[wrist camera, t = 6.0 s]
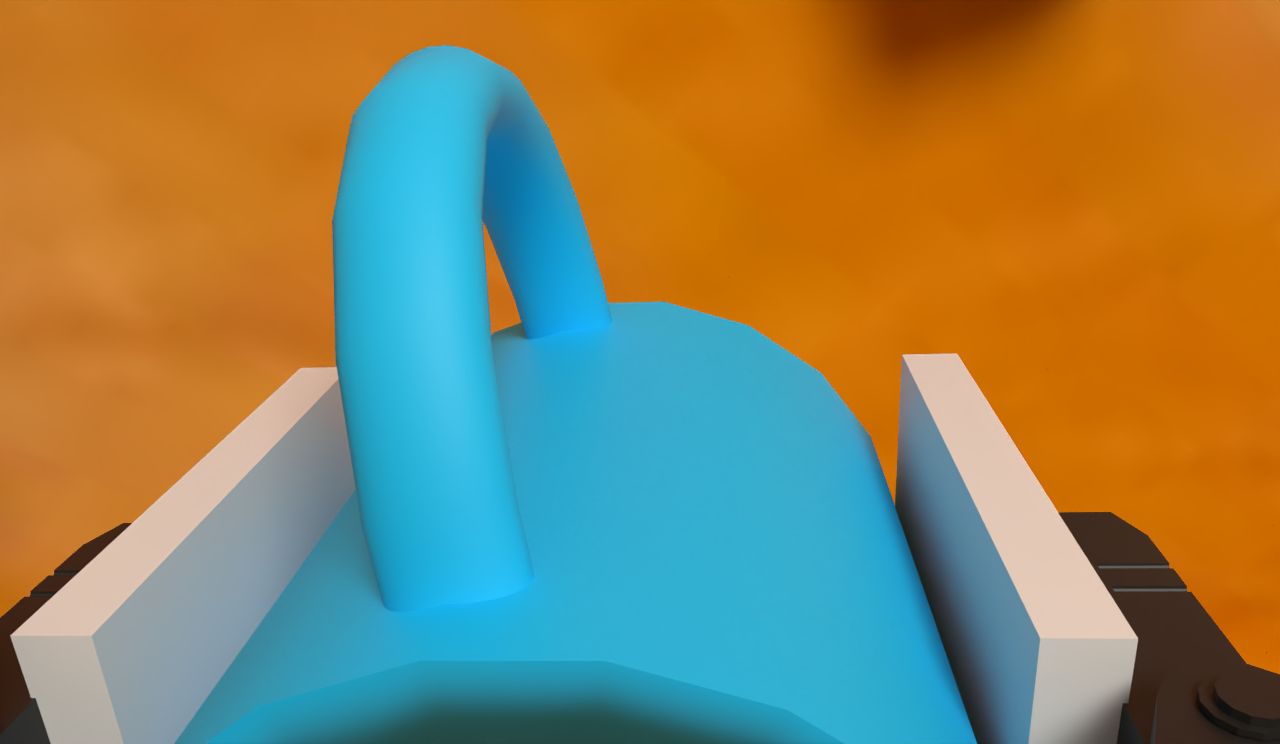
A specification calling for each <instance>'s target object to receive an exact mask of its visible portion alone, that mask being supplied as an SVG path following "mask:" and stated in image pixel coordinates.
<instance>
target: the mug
mask: <svg viewBox="0 0 1280 744" xmlns="http://www.w3.org/2000/svg"><path fill="white" fill-rule="evenodd" d="M482 220H483V222H484V224H485V226H486V228H487V230H488V233H489V235H490V238H491V240H492V243H493V245H494V248H495V250H496V253H497V255H498V258H499V261H500V263H501V266H502V268H503V271H504V273H505V276H506V278H507V281H508V284H509V286H510V289H511V291H512V294H513V296H514V299H515V302H516V305H517V309H518V312H519V315H520V319H521V322H522V323H520V324H517V325H514V326H511V327H508V328H505V329H503V330H500V331H497V332H495V333H494V334H492V335H491V327H490V314H489V301H488V288H487V275H486V262H485V249H484V236H483V222H482ZM332 227H333V268H334V309H335V350H336V366H337V372H338V379H339V385H340V391H341V398H342V404H343V410H344V417H345V423H346V430H347V436H348V442H349V449H350V455H351V461H352V468H353V474H354V481H355V487H356V490H355V491H354V492H353V494H352V495H351V497H350V498H349V499H348V501H347V502H346V504H345V505H344V506H343V508H342V509H341V511H340V512H339V513H338V515H337V516H336V518H335V519H334V520H333V522H332V523H331V525H330V526H329V527H328V529H327V530H326V532H325V533H324V534H323V536H322V537H321V539H320V540H319V541H318V543H317V544H316V546H315V547H314V548H313V550H312V551H311V553H310V554H309V555H308V557H307V558H306V560H305V561H304V562H303V564H302V565H301V567H300V568H299V569H298V571H297V572H296V574H295V575H294V576H293V578H292V579H291V581H290V582H289V584H288V585H287V586H286V588H285V589H284V591H283V592H282V593H281V595H280V596H279V598H278V599H277V600H276V602H275V603H274V605H273V606H272V607H271V609H270V610H269V612H268V613H267V614H266V616H265V617H264V619H263V620H262V621H261V623H260V624H259V626H258V627H257V628H256V630H255V631H254V633H253V634H252V635H251V637H250V638H249V640H248V641H247V642H246V644H245V645H244V647H243V648H242V649H241V651H240V652H239V654H238V655H237V656H236V658H235V659H234V661H233V662H232V663H231V665H230V666H229V668H228V669H227V670H226V672H225V673H224V675H223V676H222V677H221V679H220V680H219V682H218V683H217V684H216V686H215V687H214V689H213V690H212V692H211V693H210V694H209V696H208V697H207V699H206V700H205V701H204V703H203V704H202V706H201V707H200V708H199V710H198V711H197V713H196V714H195V715H194V717H193V718H192V720H191V721H190V722H189V724H188V725H187V727H186V728H185V729H184V731H183V732H182V734H181V735H180V736H179V738H178V739H177V741H176V742H175V743H174V744H977V742H976V739H975V736H974V733H973V730H972V727H971V724H970V721H969V719H968V716H967V713H966V710H965V707H964V704H963V701H962V698H961V696H960V693H959V690H958V687H957V684H956V681H955V678H954V675H953V672H952V670H951V667H950V664H949V661H948V658H947V655H946V652H945V649H944V646H943V644H942V641H941V638H940V635H939V632H938V629H937V626H936V623H935V621H934V618H933V615H932V612H931V609H930V606H929V603H928V600H927V597H926V595H925V592H924V589H923V586H922V583H921V580H920V577H919V574H918V571H917V569H916V566H915V563H914V560H913V557H912V554H911V551H910V548H909V546H908V543H907V540H906V537H905V534H904V531H903V528H902V525H901V522H900V520H899V517H898V514H897V511H896V508H895V505H894V502H893V499H892V497H891V494H890V491H889V488H888V485H887V482H886V479H885V476H884V473H883V471H882V468H881V465H880V462H879V459H878V456H877V453H876V450H875V447H874V445H873V442H872V439H871V436H870V435H869V434H868V432H867V431H866V430H865V429H864V427H863V426H862V425H861V424H860V422H859V421H858V420H857V418H856V417H855V416H854V415H853V413H852V412H851V411H850V409H849V408H848V407H847V406H846V404H845V403H844V402H843V401H842V399H841V398H840V397H839V395H838V394H837V393H836V392H835V390H834V389H833V388H832V387H831V385H830V384H829V383H828V381H827V380H826V379H825V378H824V376H823V375H822V374H821V373H820V372H819V371H817V370H816V369H814V368H813V367H811V366H810V365H808V364H807V363H805V362H803V361H802V360H800V359H799V358H797V357H796V356H794V355H793V354H791V353H790V352H788V351H787V350H785V349H784V348H782V347H781V346H779V345H778V344H776V343H775V342H773V341H771V340H770V339H768V338H767V337H765V336H764V335H762V334H761V333H759V332H758V331H756V330H755V329H753V328H752V327H750V326H748V325H745V324H741V323H737V322H734V321H730V320H727V319H723V318H720V317H716V316H713V315H709V314H705V313H702V312H698V311H695V310H691V309H688V308H684V307H681V306H677V305H673V304H670V303H666V302H636V303H608V301H607V297H606V293H605V289H604V285H603V281H602V278H601V274H600V271H599V268H598V265H597V261H596V258H595V255H594V252H593V249H592V245H591V242H590V239H589V236H588V232H587V229H586V226H585V223H584V219H583V216H582V213H581V210H580V207H579V203H578V200H577V198H576V195H575V193H574V190H573V188H572V185H571V183H570V180H569V178H568V175H567V173H566V170H565V168H564V165H563V163H562V160H561V158H560V155H559V153H558V150H557V148H556V145H555V143H554V140H553V138H552V135H551V133H550V130H549V128H548V126H547V124H546V123H545V121H544V119H543V118H542V116H541V114H540V113H539V111H538V109H537V108H536V106H535V104H534V103H533V101H532V99H531V98H530V96H529V94H528V92H527V91H526V89H525V87H524V86H523V84H522V82H521V81H520V80H519V79H518V78H517V77H516V76H515V75H514V74H513V73H512V72H511V71H509V70H508V69H506V68H504V67H502V66H500V65H498V64H496V63H494V62H492V61H490V60H488V59H486V58H485V57H483V56H481V55H478V54H476V53H474V52H472V51H470V50H468V49H466V48H460V47H454V46H449V45H445V46H434V47H427V48H424V49H421V50H418V51H416V52H413V53H410V54H408V55H407V56H406V57H404V58H403V59H402V60H400V61H399V62H397V63H396V64H395V65H394V66H393V67H392V68H391V69H390V70H389V71H388V73H387V74H386V75H385V76H384V77H383V78H382V80H381V81H380V82H379V83H378V84H377V85H376V87H375V88H374V89H373V90H372V91H371V92H370V93H369V95H368V96H367V97H366V98H365V99H364V100H363V102H362V103H361V105H360V106H359V107H358V109H357V110H356V111H355V113H354V114H353V117H352V121H351V125H350V130H349V135H348V140H347V145H346V151H345V156H344V161H343V167H342V172H341V178H340V183H339V188H338V194H337V199H336V204H335V210H334V215H333V221H332Z"/></svg>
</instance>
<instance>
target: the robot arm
mask: <svg viewBox="0 0 1280 744" xmlns="http://www.w3.org/2000/svg"><path fill="white" fill-rule="evenodd" d="M355 490H356V487H355V481H354V474H353V468H352V461H351V455H350V449H349V442H348V436H347V430H346V423H345V417H344V410H343V404H342V398H341V391H340V385H339V379H338V372H337V367H325V368H300V369H299V370H298V371H297V372H296V373H295V374H294V375H293V376H292V377H290V378H289V379H288V380H287V381H286V382H285V383H284V384H283V385H282V386H281V387H280V388H279V389H277V390H276V391H275V392H274V393H273V394H272V395H271V396H270V397H269V398H268V399H267V400H265V401H264V402H263V403H262V404H261V405H260V406H259V407H258V408H257V409H256V410H255V411H254V412H252V413H251V414H250V415H249V416H248V417H247V418H246V419H245V420H244V421H243V422H242V423H241V424H239V425H238V426H237V427H236V428H235V429H234V430H233V431H232V432H231V433H230V434H229V435H228V436H226V437H225V438H224V439H223V440H222V441H221V442H220V443H219V444H218V445H217V446H216V447H214V448H213V449H212V450H211V451H210V452H209V453H208V454H207V455H206V456H205V457H204V458H203V459H201V460H200V461H199V462H198V463H197V464H196V465H195V466H194V467H193V468H192V469H191V470H190V471H188V472H187V473H186V474H185V475H184V476H183V477H182V478H181V479H180V480H179V481H178V482H177V483H175V484H174V485H173V486H172V487H171V488H170V489H169V490H168V491H167V492H166V493H165V494H163V495H162V496H161V497H160V498H159V499H158V500H157V501H156V502H155V503H154V504H153V505H152V506H150V507H149V508H148V509H147V510H146V511H145V512H144V513H143V514H142V515H141V516H140V517H139V518H137V519H136V520H135V521H134V522H133V523H123V524H121V525H119V526H117V527H116V528H114V529H112V530H110V531H108V532H106V533H104V534H103V535H101V536H99V537H97V538H95V539H93V540H92V541H90V542H88V543H86V544H84V545H83V546H81V547H80V548H79V549H78V550H77V551H76V552H75V553H73V554H72V555H71V556H70V557H69V558H68V559H67V560H66V561H64V562H63V563H62V564H61V565H60V566H59V567H58V568H57V569H55V570H54V576H47V577H46V578H45V579H44V580H43V581H42V582H41V583H40V584H38V585H37V586H36V587H35V588H34V589H33V590H32V591H31V595H30V597H24V598H23V599H21V600H20V601H19V602H18V603H17V604H16V605H15V606H14V607H12V608H11V609H10V610H9V611H8V612H7V613H6V614H5V615H3V616H2V617H1V618H0V744H174V743H175V742H176V741H177V739H178V738H179V736H180V735H181V734H182V732H183V731H184V729H185V728H186V727H187V725H188V724H189V722H190V721H191V720H192V718H193V717H194V715H195V714H196V713H197V711H198V710H199V708H200V707H201V706H202V704H203V703H204V701H205V700H206V699H207V697H208V696H209V694H210V693H211V692H212V690H213V689H214V687H215V686H216V684H217V683H218V682H219V680H220V679H221V677H222V676H223V675H224V673H225V672H226V670H227V669H228V668H229V666H230V665H231V663H232V662H233V661H234V659H235V658H236V656H237V655H238V654H239V652H240V651H241V649H242V648H243V647H244V645H245V644H246V642H247V641H248V640H249V638H250V637H251V635H252V634H253V633H254V631H255V630H256V628H257V627H258V626H259V624H260V623H261V621H262V620H263V619H264V617H265V616H266V614H267V613H268V612H269V610H270V609H271V607H272V606H273V605H274V603H275V602H276V600H277V599H278V598H279V596H280V595H281V593H282V592H283V591H284V589H285V588H286V586H287V585H288V584H289V582H290V581H291V579H292V578H293V576H294V575H295V574H296V572H297V571H298V569H299V568H300V567H301V565H302V564H303V562H304V561H305V560H306V558H307V557H308V555H309V554H310V553H311V551H312V550H313V548H314V547H315V546H316V544H317V543H318V541H319V540H320V539H321V537H322V536H323V534H324V533H325V532H326V530H327V529H328V527H329V526H330V525H331V523H332V522H333V520H334V519H335V518H336V516H337V515H338V513H339V512H340V511H341V509H342V508H343V506H344V505H345V504H346V502H347V501H348V499H349V498H350V497H351V495H352V494H353V492H354V491H355ZM895 508H896V511H897V514H898V517H899V520H900V522H901V525H902V528H903V531H904V534H905V537H906V540H907V543H908V546H909V548H910V551H911V554H912V557H913V560H914V563H915V566H916V569H917V571H918V574H919V577H920V580H921V583H922V586H923V589H924V592H925V595H926V597H927V600H928V603H929V606H930V609H931V612H932V615H933V618H934V621H935V623H936V626H937V629H938V632H939V635H940V638H941V641H942V644H943V646H944V649H945V652H946V655H947V658H948V661H949V664H950V667H951V670H952V672H953V675H954V678H955V681H956V684H957V687H958V690H959V693H960V696H961V698H962V701H963V704H964V707H965V710H966V713H967V716H968V719H969V721H970V724H971V727H972V730H973V733H974V736H975V739H976V742H977V744H1280V674H1276V673H1273V672H1270V671H1267V670H1264V669H1261V668H1258V667H1255V666H1252V665H1249V664H1246V662H1245V661H1244V660H1243V659H1242V657H1241V656H1240V655H1239V653H1238V652H1237V651H1236V649H1235V648H1234V647H1233V646H1232V644H1231V643H1230V642H1229V640H1228V639H1227V638H1226V636H1225V635H1224V634H1223V633H1222V631H1221V630H1220V629H1219V627H1218V626H1217V625H1216V624H1215V622H1214V621H1213V620H1212V618H1211V617H1210V616H1209V614H1208V613H1207V612H1206V611H1205V609H1204V608H1203V607H1202V605H1201V604H1200V603H1199V601H1198V600H1197V599H1196V598H1195V596H1194V595H1193V594H1192V592H1187V586H1186V585H1185V583H1184V582H1183V581H1182V579H1181V578H1180V577H1179V576H1178V574H1177V573H1176V572H1175V570H1174V569H1169V563H1168V561H1167V560H1166V559H1165V557H1164V556H1163V555H1162V554H1161V552H1160V551H1159V550H1158V548H1157V547H1156V546H1155V544H1154V543H1153V542H1152V541H1151V539H1150V538H1149V537H1148V535H1146V534H1144V533H1143V532H1141V531H1140V530H1138V529H1136V528H1135V527H1133V526H1132V525H1130V524H1128V523H1127V522H1125V521H1124V520H1122V519H1121V518H1119V517H1117V516H1116V515H1114V514H1113V513H1111V512H1065V513H1058V512H1057V510H1056V509H1055V507H1054V505H1053V504H1052V502H1051V501H1050V499H1049V498H1048V496H1047V494H1046V493H1045V491H1044V490H1043V488H1042V487H1041V485H1040V483H1039V482H1038V480H1037V479H1036V477H1035V476H1034V474H1033V472H1032V471H1031V469H1030V468H1029V466H1028V465H1027V463H1026V461H1025V460H1024V458H1023V457H1022V455H1021V454H1020V452H1019V450H1018V449H1017V447H1016V446H1015V444H1014V443H1013V441H1012V439H1011V438H1010V436H1009V435H1008V433H1007V432H1006V430H1005V428H1004V427H1003V425H1002V424H1001V422H1000V420H999V419H998V417H997V416H996V414H995V413H994V411H993V409H992V408H991V406H990V405H989V403H988V402H987V400H986V398H985V397H984V395H983V394H982V392H981V391H980V389H979V387H978V386H977V384H976V383H975V381H974V380H973V378H972V376H971V375H970V373H969V372H968V370H967V369H966V367H965V365H964V364H963V362H962V361H961V359H960V358H959V356H958V354H913V355H902V370H901V391H900V413H899V434H898V456H897V477H896V499H895Z"/></svg>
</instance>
